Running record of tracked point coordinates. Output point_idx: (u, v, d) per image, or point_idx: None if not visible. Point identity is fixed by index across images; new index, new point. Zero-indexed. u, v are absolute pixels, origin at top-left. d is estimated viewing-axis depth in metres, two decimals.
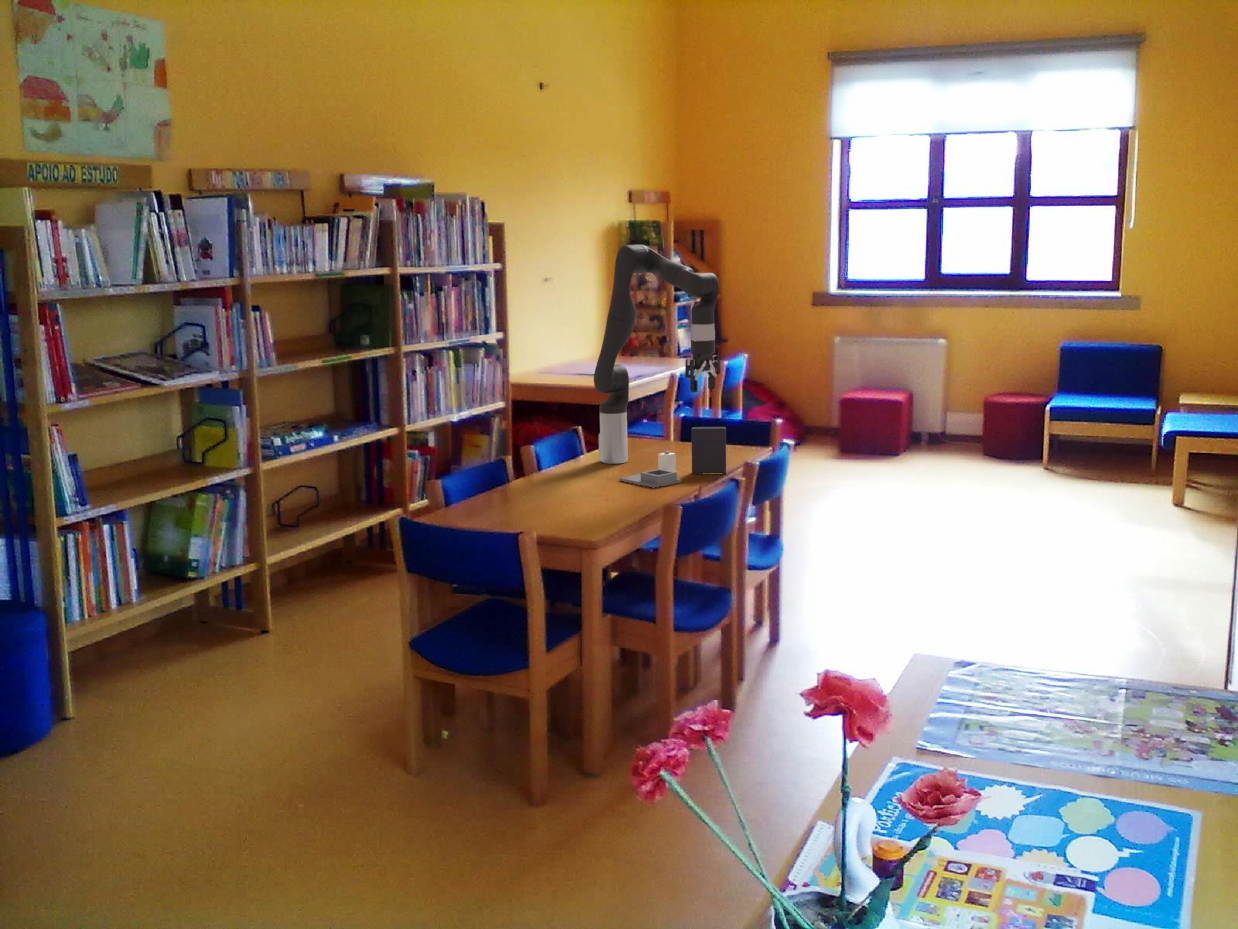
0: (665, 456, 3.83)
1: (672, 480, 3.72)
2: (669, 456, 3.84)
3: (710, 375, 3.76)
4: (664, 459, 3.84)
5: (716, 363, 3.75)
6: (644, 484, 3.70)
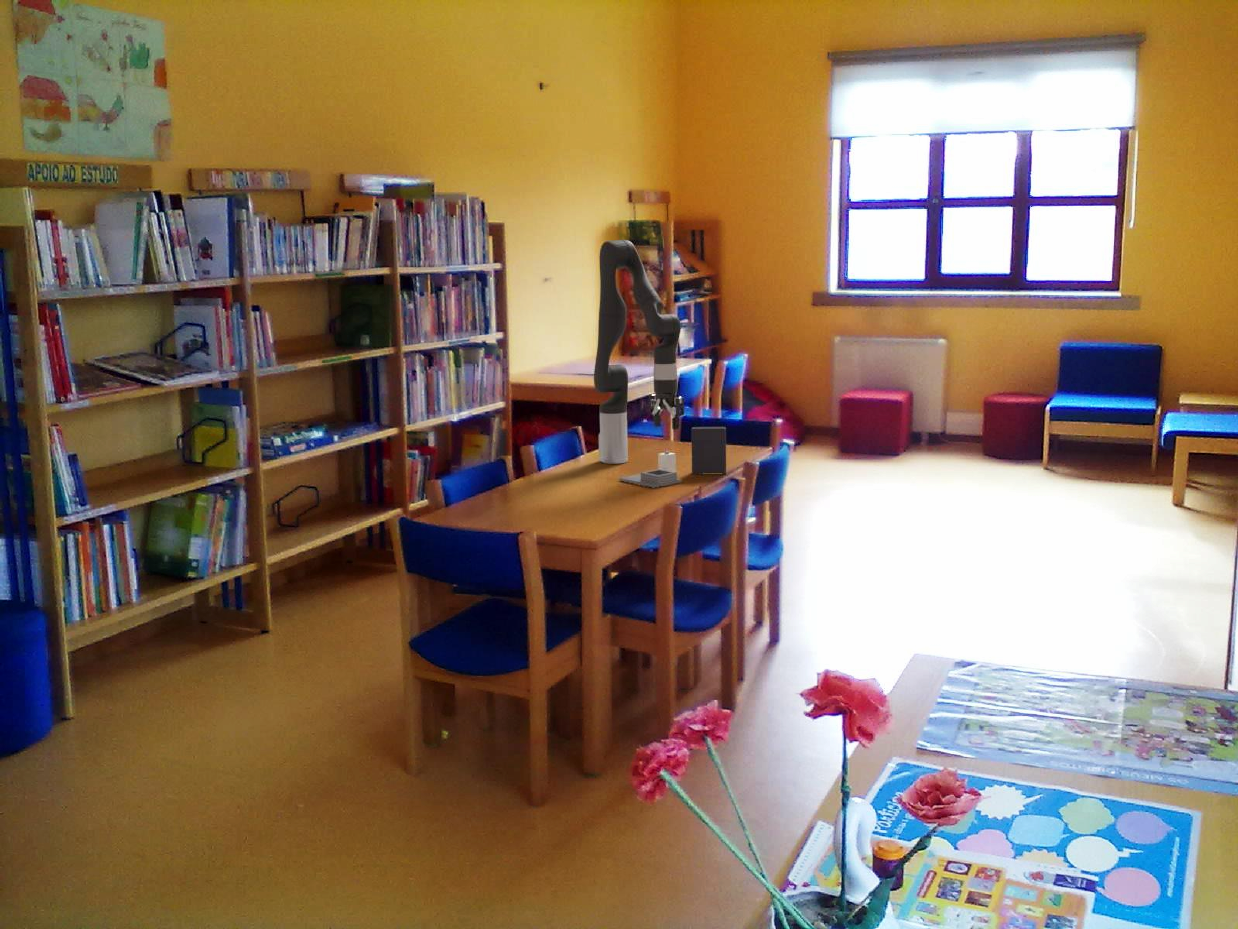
0: (665, 456, 3.83)
1: (672, 480, 3.72)
2: (669, 456, 3.84)
3: (656, 413, 3.86)
4: (664, 459, 3.84)
5: (655, 401, 3.87)
6: (644, 484, 3.70)
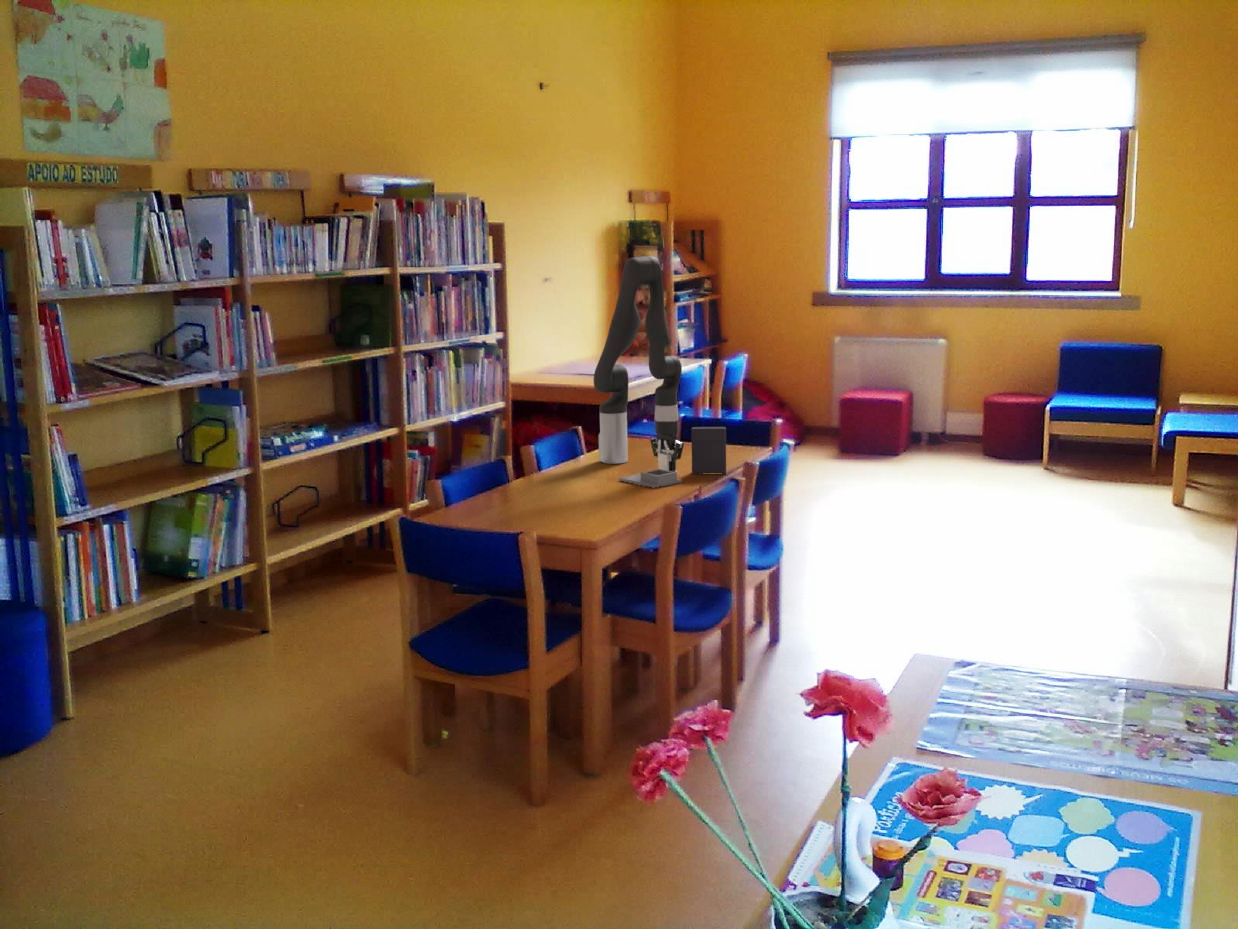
0: (665, 456, 3.83)
1: (672, 480, 3.72)
2: None
3: None
4: (664, 459, 3.84)
5: None
6: (644, 484, 3.70)
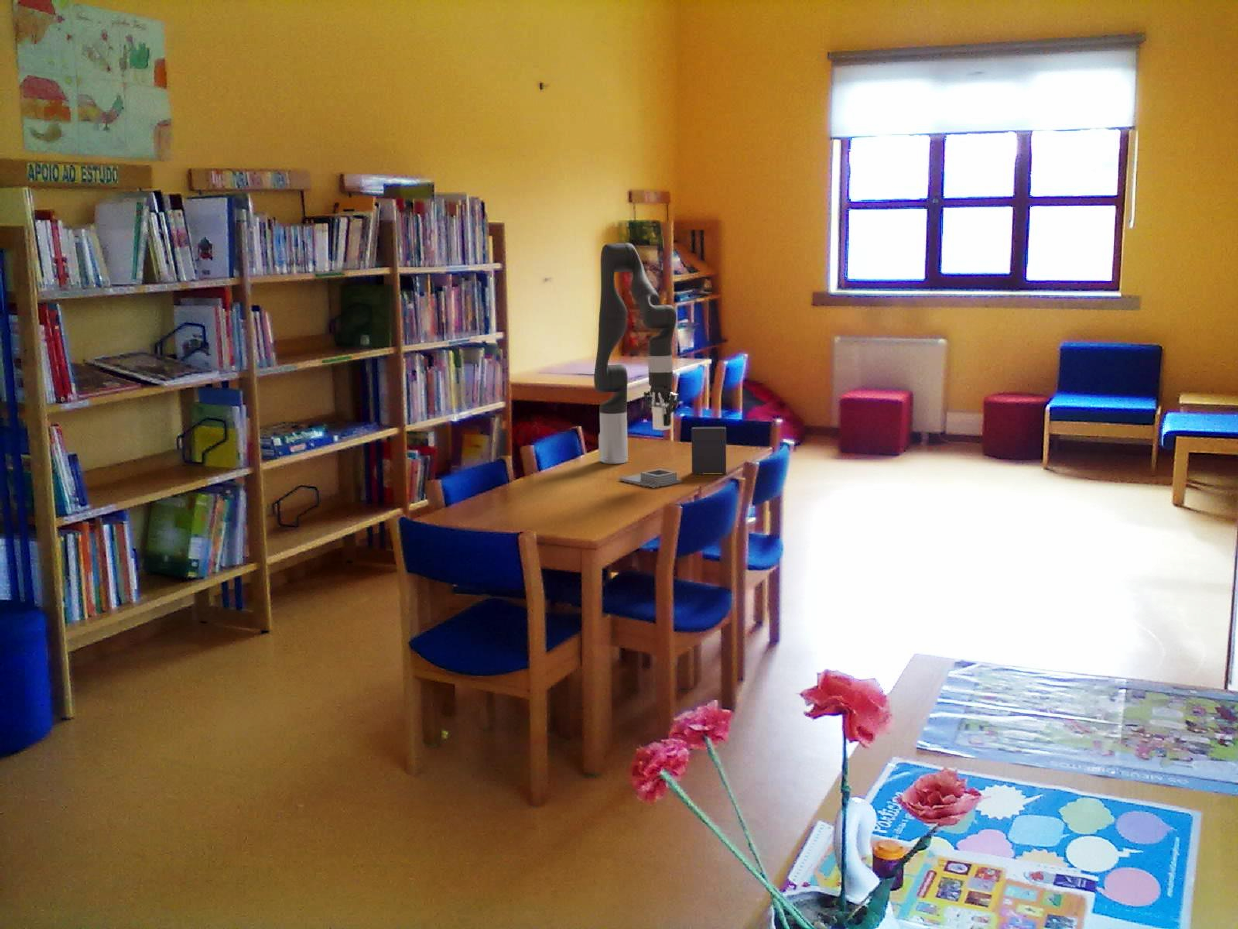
0: (660, 409, 3.70)
1: (672, 480, 3.72)
2: None
3: None
4: (658, 412, 3.71)
5: None
6: (644, 484, 3.70)
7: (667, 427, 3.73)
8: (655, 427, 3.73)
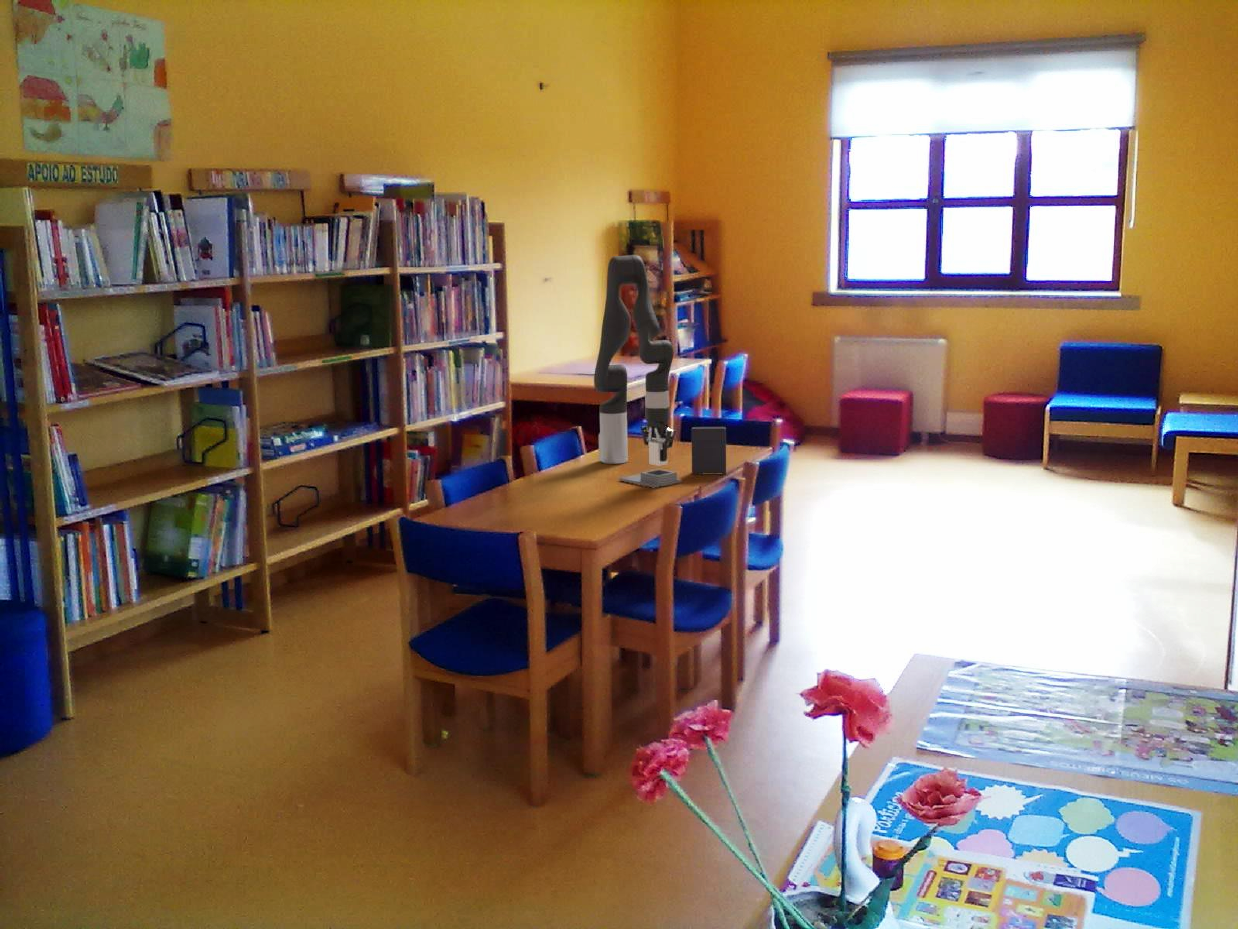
0: (656, 444, 3.69)
1: (672, 480, 3.72)
2: None
3: None
4: (655, 448, 3.70)
5: (649, 432, 3.75)
6: (644, 484, 3.70)
7: (663, 462, 3.71)
8: (651, 462, 3.72)
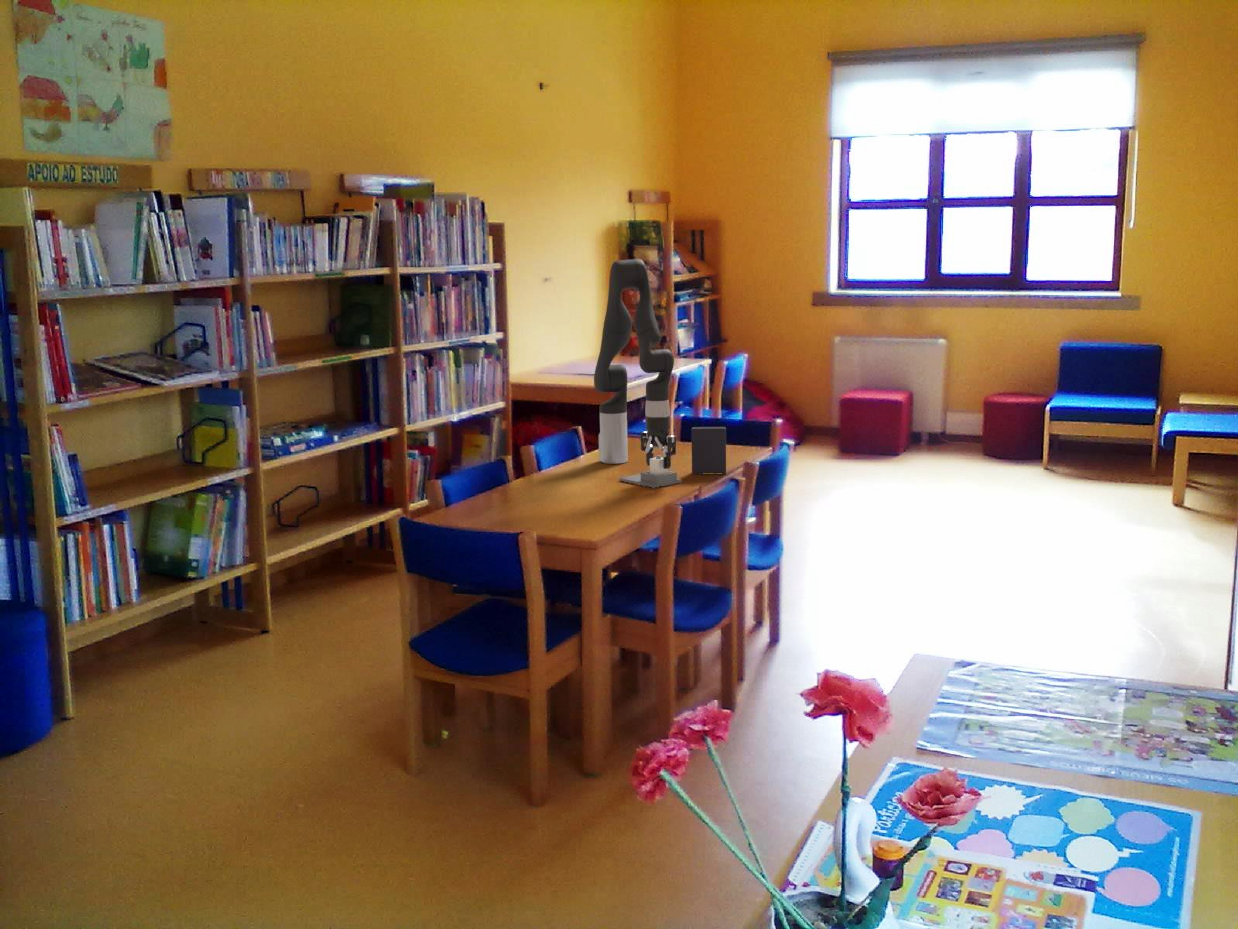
0: (657, 461, 3.70)
1: (672, 480, 3.72)
2: (661, 461, 3.70)
3: (649, 452, 3.75)
4: (655, 464, 3.71)
5: (648, 439, 3.76)
6: (644, 484, 3.70)
7: None
8: None
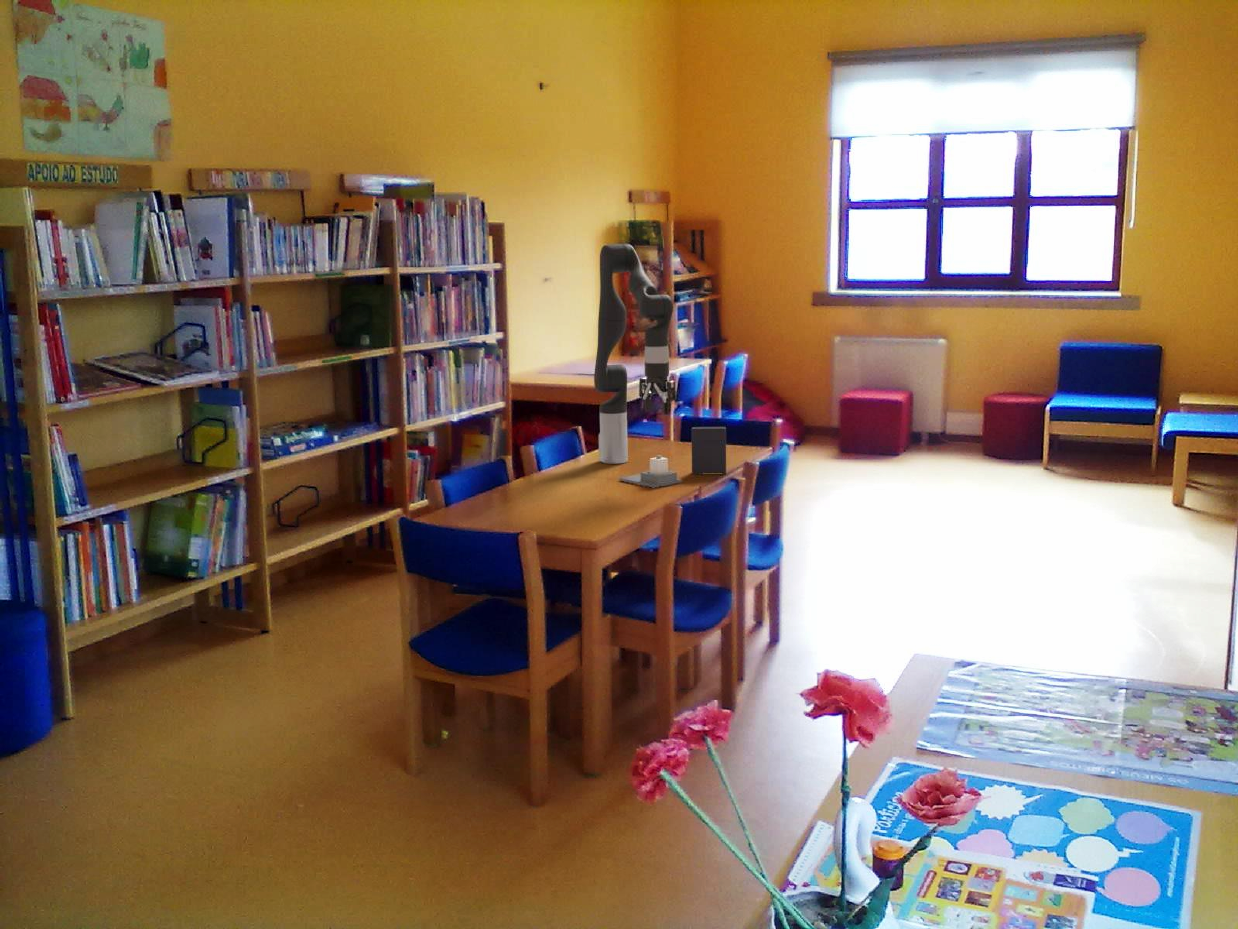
0: (657, 461, 3.70)
1: (672, 480, 3.72)
2: (661, 461, 3.70)
3: (647, 398, 3.72)
4: (655, 464, 3.71)
5: (646, 385, 3.73)
6: (644, 484, 3.70)
7: None
8: None
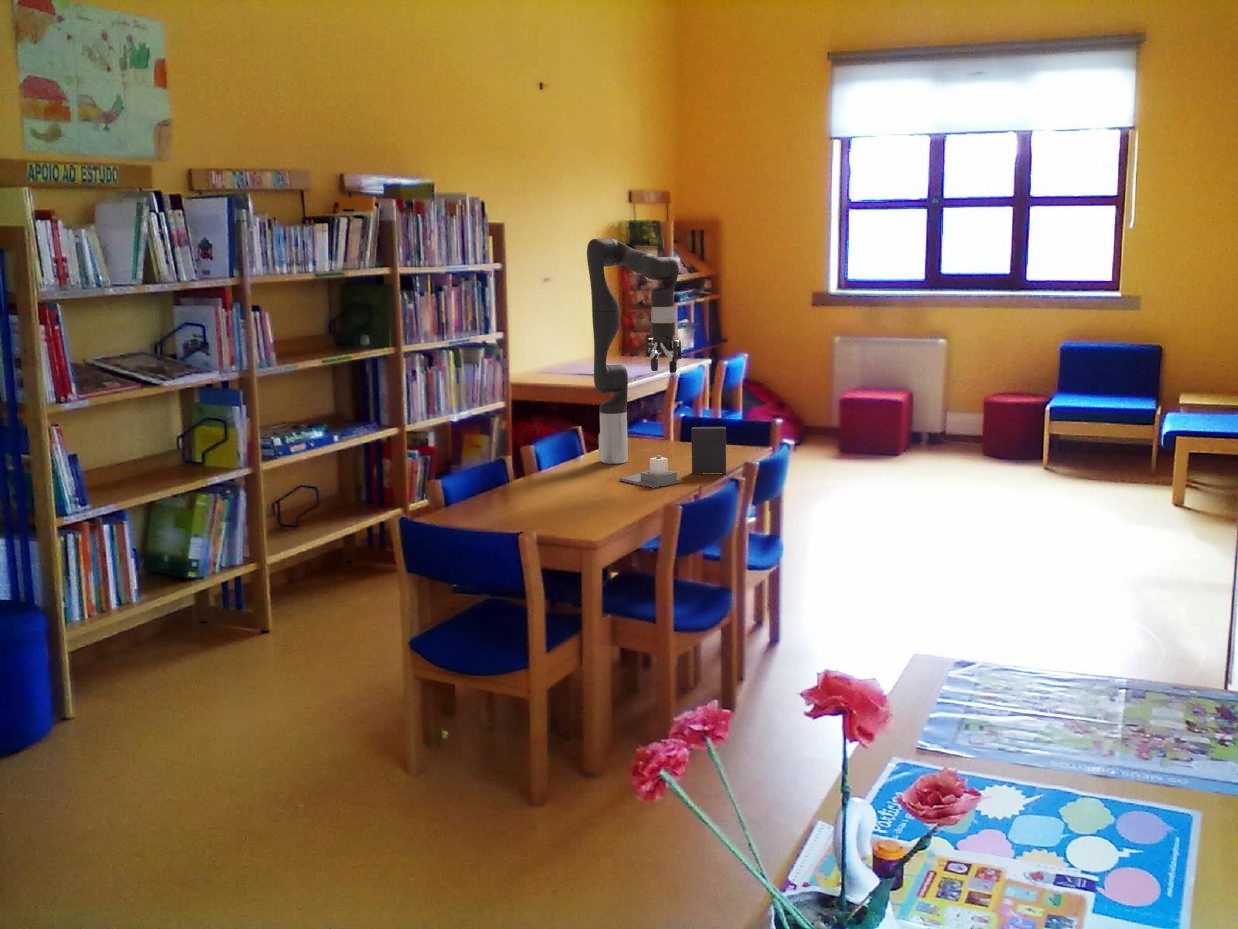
0: (657, 461, 3.70)
1: (672, 480, 3.72)
2: (661, 461, 3.70)
3: (654, 357, 3.85)
4: (655, 464, 3.71)
5: (653, 345, 3.86)
6: (644, 484, 3.70)
7: None
8: None
